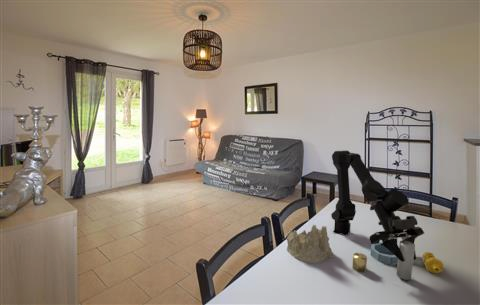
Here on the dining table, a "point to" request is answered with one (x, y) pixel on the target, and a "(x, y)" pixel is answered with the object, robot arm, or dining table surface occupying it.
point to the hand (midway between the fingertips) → (409, 260)
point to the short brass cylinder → (359, 262)
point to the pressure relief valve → (431, 262)
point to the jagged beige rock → (310, 245)
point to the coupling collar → (380, 256)
